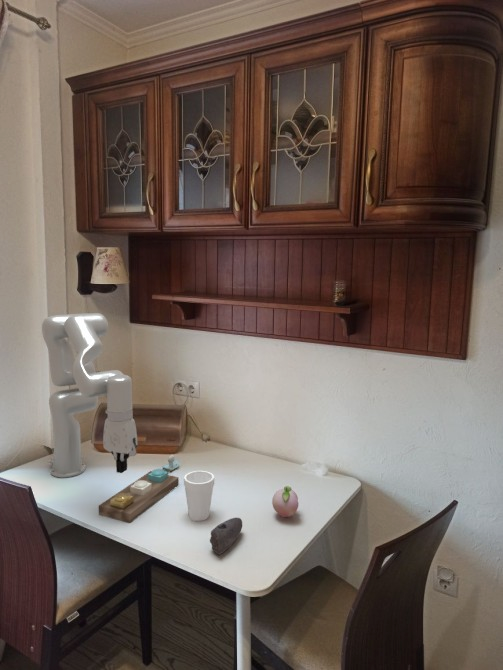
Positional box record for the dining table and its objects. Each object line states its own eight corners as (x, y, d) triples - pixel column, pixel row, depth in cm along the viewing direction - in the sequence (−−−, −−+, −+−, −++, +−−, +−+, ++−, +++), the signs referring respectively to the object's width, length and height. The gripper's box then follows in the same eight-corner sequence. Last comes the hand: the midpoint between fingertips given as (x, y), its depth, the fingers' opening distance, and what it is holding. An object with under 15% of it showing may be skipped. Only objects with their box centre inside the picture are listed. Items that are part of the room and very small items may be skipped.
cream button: (130, 494, 160) (130, 484, 160) (139, 488, 165) (139, 478, 164) (142, 498, 158) (142, 487, 158) (151, 491, 163) (151, 481, 162)
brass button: (110, 508, 151) (110, 498, 150) (120, 501, 156) (120, 491, 155) (123, 512, 149) (123, 501, 148) (133, 505, 154) (133, 494, 153)
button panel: (98, 514, 151) (98, 505, 151) (150, 478, 177) (150, 471, 176) (129, 523, 147) (129, 514, 146) (178, 485, 172) (178, 477, 172)
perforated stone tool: (234, 529, 145) (234, 507, 144) (249, 534, 142) (249, 513, 141) (204, 554, 132) (204, 531, 131) (219, 560, 129) (219, 537, 128)
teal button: (148, 482, 169) (148, 473, 169) (156, 477, 174) (156, 467, 173) (160, 485, 167) (159, 475, 167) (167, 479, 172) (167, 470, 171)
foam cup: (201, 526, 145) (201, 486, 143) (178, 517, 150) (177, 479, 148) (219, 513, 153) (219, 475, 151) (196, 505, 158) (197, 468, 156)
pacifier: (157, 471, 184) (168, 474, 181) (156, 455, 183) (168, 458, 180) (169, 464, 190) (181, 467, 187) (169, 449, 189) (180, 452, 186)
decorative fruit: (271, 508, 157) (272, 480, 155) (296, 509, 157) (297, 481, 155) (272, 524, 148) (272, 494, 146) (298, 525, 147) (299, 495, 146)
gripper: (92, 415, 147) (94, 471, 150) (132, 421, 141) (133, 480, 144) (108, 408, 154) (110, 462, 157) (147, 414, 148) (148, 470, 151)
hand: (121, 471), depth 150 cm, fingers closed
